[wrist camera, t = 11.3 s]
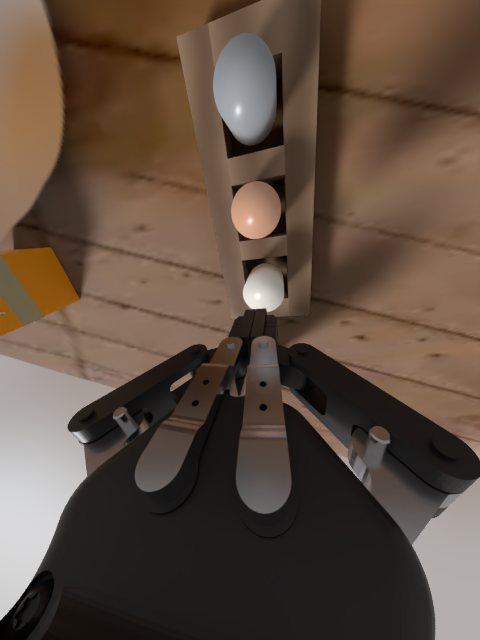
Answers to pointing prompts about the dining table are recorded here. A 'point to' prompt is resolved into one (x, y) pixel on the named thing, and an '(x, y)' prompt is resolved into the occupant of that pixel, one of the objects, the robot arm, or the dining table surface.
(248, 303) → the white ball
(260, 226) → the peach egg
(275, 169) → the tan frame
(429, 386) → the dining table surface
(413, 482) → the robot arm
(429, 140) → the dining table surface
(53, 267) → the orange juice
